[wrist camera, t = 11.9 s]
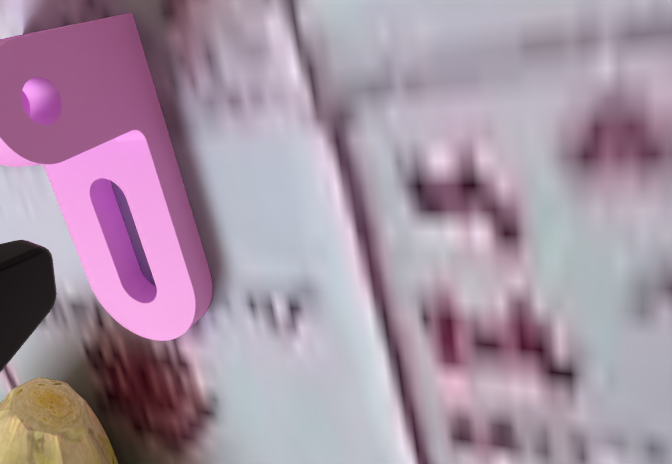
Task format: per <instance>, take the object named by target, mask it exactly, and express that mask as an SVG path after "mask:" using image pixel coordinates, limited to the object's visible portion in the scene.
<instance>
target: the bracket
mask: <svg viewBox="0 0 672 464" xmlns="http://www.w3.org/2000/svg"><path fill="white" fill-rule="evenodd" d="M0 164H1V165H5V166H11V167H20V166H34V165H44V167H45V170H46V172H47V175H48V178H49V180H50V183H51V185H52V188H53V191H54V193H55V196H56V198H57V201H58V204H59V206H60V209H61V211H62V214H63V217H64V219H65V222H66V224H67V227H68V230H69V232H70V235H71V237H72V240H73V243H74V245H75V248H76V250H77V253H78V256H79V258H80V261H81V263H82V266H83V269H84V271H85V274H86V276H87V279H88V282H89V284H90V286H91V288H92V290H93V292H94V294H95V296H96V297H97V299H98V301H99V302H100V303H101V305H102V306H103V307H104V309H105V310H106V311H107V312H108V313H109V314H110V315H111V316H112V317H113V318H114V319H115V320H116V321H117V322H118V323H120V324H121V325H122V326H123V327H125V328H126V329H128V330H130V331H131V332H133V333H135V334H137V335H139V336H142V337H144V338H147V339H151V340H158V341H167V340H172V339H175V338H177V337H179V336H181V335H182V334H184V333H185V332H186V331H187V330H188V329H189V328H190V327H191V326H192V325H193V324H194V323H196V322H197V321H198V320H199V319H200V318H201V317H202V316H203V315H204V314H205V312H206V311H207V310H208V308H209V306H210V303H211V299H212V292H213V285H212V277H211V273H210V270H209V266H208V263H207V260H206V256H205V253H204V250H203V246H202V243H201V240H200V236H199V233H198V230H197V226H196V223H195V220H194V216H193V213H192V210H191V206H190V203H189V200H188V196H187V193H186V190H185V186H184V183H183V180H182V176H181V173H180V170H179V166H178V163H177V160H176V156H175V153H174V150H173V146H172V143H171V140H170V136H169V133H168V130H167V126H166V123H165V120H164V116H163V113H162V110H161V106H160V103H159V100H158V96H157V93H156V90H155V86H154V83H153V80H152V76H151V73H150V70H149V66H148V63H147V60H146V56H145V53H144V50H143V46H142V43H141V40H140V36H139V33H138V30H137V26H136V23H135V20H134V16H133V13H132V12H131V13H126V14H121V15H117V16H112V17H107V18H102V19H97V20H92V21H87V22H82V23H77V24H72V25H67V26H63V27H58V28H53V29H48V30H43V31H38V32H33V33H28V34H23V35H19V36H14V37H9V38H5V39H0ZM111 181H112V182H114V183H115V184H116V185H117V186H119V188H120V189H121V190H122V191H123V193H124V195H125V197H126V199H127V202H128V205H129V208H130V211H131V214H132V217H133V219H134V222H135V225H136V228H137V231H138V234H139V237H140V240H141V243H142V246H143V249H144V252H145V255H146V258H147V261H148V264H149V267H150V270H151V272H152V275H153V278H154V281H155V284H156V286H154V285H153V284H151V283H150V282H149V281H148V280H147V279H146V278H145V277H144V275H143V274H142V272H141V269H140V266H139V264H138V261H137V258H136V255H135V252H134V249H133V246H132V243H131V241H130V238H129V235H128V232H127V229H126V226H125V223H124V220H123V217H122V215H121V212H120V209H119V206H118V203H117V200H116V197H115V194H114V192H113V189H112V184H111Z"/></svg>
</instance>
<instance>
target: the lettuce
mask: <svg viewBox="0 0 672 464" xmlns="http://www.w3.org/2000/svg"><path fill="white" fill-rule="evenodd" d="M0 464H118V462H117V459H116V456H115V454H114V451H113V449H112V446H111V444H110V441H109V439H108V437H107V435H106V433H105V431H104V429H103V427H102V425H101V423H100V421H99V420H98V418H97V417H96V415H95V414H94V412H93V411H92V409H91V408H90V406H89V405H88V403H87V402H86V401H85V400H84V399H83V398H82V397H81V396H80V395H78V394H77V393H76V392H75V391H74V390H73V389H72V388H71V387H70V386H69V385H68V384H67V383H66V382H62V381H56V380H51V379H46V378H40V377H37V378H35V379H33V380H30V381H28V382H26V383H24V384H22V385H20V386H17V387H15V388H14V389H13V390H12V391H11V392H10V393H9V394H8V395H7V396H6V397H5V398H4V399H3V401H2V402H1V403H0Z"/></svg>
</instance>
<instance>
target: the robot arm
mask: <svg viewBox="0 0 672 464" xmlns="http://www.w3.org/2000/svg"><path fill="white" fill-rule="evenodd" d="M55 300H56V285H55V276H54V268H53V259H52V255H51V253H50V252H49V250H48V249H46V248H45V247H42V246H40V245H37V244H34V243H32V242H29V241H25V240H17V241H12V242H8V243H3V244H0V372H1V371H2V370H3V368H4V367H5V366H6V365H7V363H8V362H9V361H10V360H11V359H12V357H13V356H14V355H15V354H16V352H17V351H18V350H19V349H20V348H21V346H22V345H23V344H24V343H25V341H26V340H27V339H28V338H29V336H30V335H31V334H32V333H33V332H34V330H35V329H36V328H37V327H38V325H39V324H40V323H41V322H42V320H43V319H44V318H45V317H46V316H47V314H48V313H49V312H50V310H51V309H52V307H53V305H54V303H55Z"/></svg>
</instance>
